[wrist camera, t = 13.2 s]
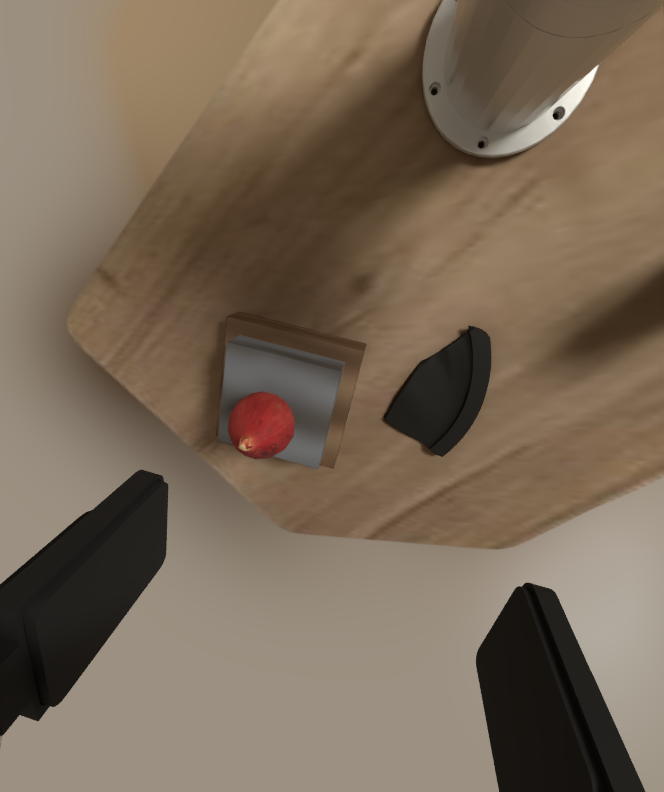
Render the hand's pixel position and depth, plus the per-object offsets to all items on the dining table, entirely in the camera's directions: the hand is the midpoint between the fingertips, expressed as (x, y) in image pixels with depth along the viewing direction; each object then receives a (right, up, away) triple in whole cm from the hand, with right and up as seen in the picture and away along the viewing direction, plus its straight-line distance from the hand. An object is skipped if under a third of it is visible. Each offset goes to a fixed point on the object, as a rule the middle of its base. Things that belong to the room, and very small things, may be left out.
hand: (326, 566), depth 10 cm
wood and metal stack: (-4, +5, +32) cm, 33 cm away
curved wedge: (+12, +5, +30) cm, 33 cm away
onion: (-5, +3, +27) cm, 27 cm away
